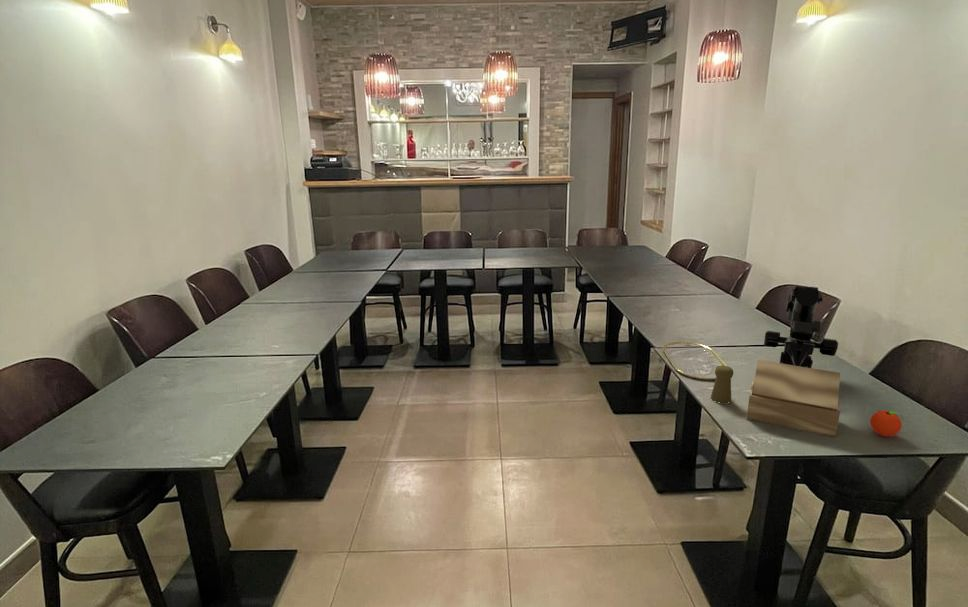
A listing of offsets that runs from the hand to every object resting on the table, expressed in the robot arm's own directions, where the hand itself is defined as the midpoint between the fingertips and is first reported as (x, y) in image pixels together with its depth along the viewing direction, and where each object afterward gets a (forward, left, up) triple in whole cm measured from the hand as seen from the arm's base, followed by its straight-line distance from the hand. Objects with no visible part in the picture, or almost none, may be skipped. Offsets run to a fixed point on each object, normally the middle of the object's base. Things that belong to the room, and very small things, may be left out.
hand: (796, 368), depth 157 cm
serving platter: (-27, -31, -14) cm, 44 cm away
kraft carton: (+6, 0, -14) cm, 15 cm away
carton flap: (+7, 0, -2) cm, 7 cm away
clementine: (+4, +23, -14) cm, 27 cm away
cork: (+2, -19, -14) cm, 24 cm away
